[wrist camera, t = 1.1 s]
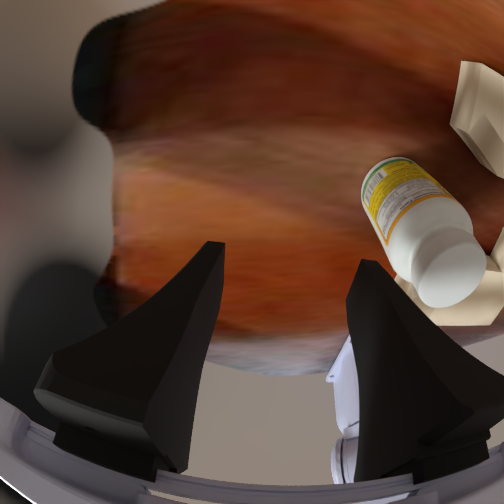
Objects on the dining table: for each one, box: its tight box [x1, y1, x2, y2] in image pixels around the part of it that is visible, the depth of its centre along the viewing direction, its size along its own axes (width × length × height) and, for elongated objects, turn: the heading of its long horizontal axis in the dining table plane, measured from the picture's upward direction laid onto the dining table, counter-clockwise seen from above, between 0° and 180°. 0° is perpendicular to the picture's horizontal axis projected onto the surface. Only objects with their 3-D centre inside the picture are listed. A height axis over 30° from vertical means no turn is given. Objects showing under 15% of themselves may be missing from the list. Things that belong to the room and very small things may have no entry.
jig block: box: [394, 61, 504, 326], centre depth 18 cm, size 22×14×3 cm, turn 175°
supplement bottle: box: [361, 157, 487, 308], centre depth 15 cm, size 5×5×10 cm
